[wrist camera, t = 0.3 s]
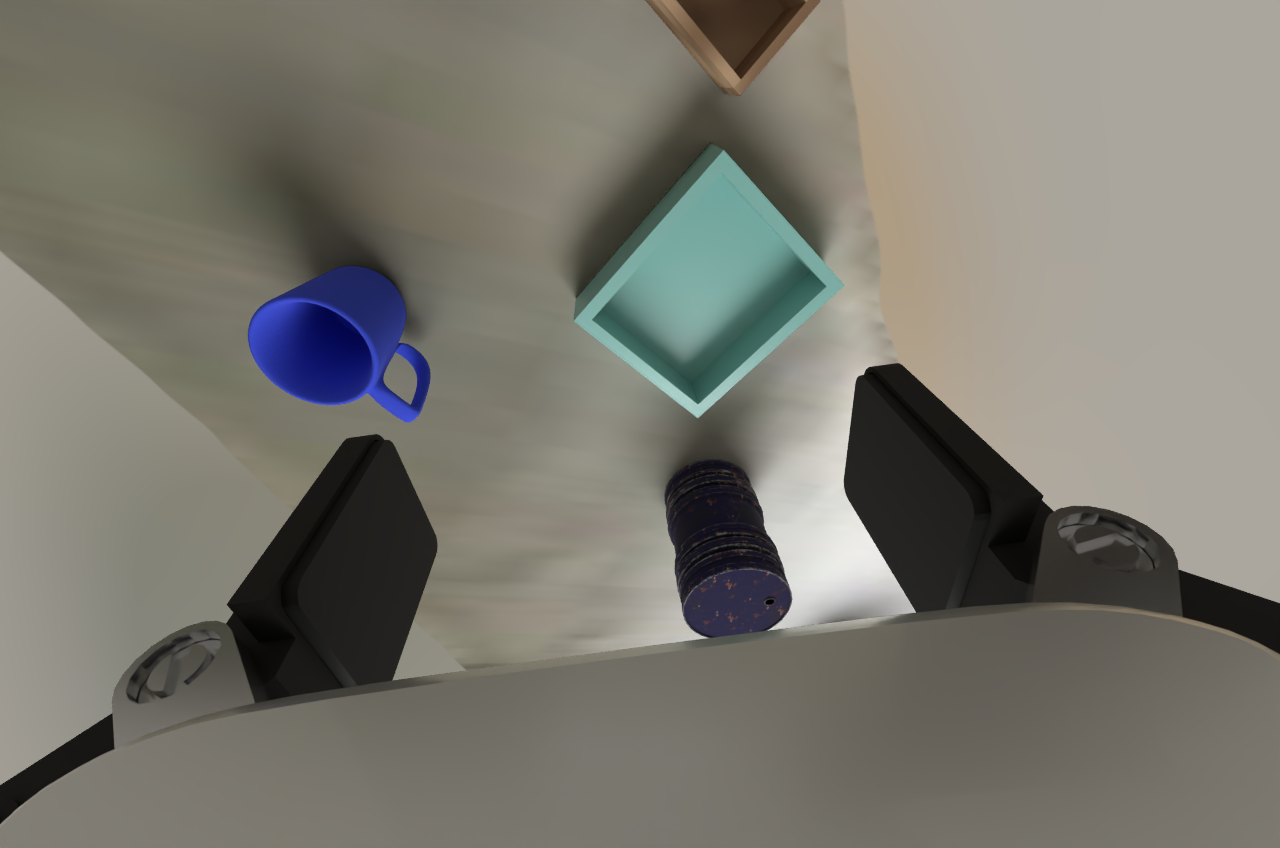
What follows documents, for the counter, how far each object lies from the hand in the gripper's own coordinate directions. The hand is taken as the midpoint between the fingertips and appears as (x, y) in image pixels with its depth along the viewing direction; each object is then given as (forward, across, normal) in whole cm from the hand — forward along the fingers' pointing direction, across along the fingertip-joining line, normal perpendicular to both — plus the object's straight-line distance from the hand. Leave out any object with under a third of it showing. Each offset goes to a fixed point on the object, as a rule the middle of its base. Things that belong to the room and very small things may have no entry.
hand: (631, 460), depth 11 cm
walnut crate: (+35, -9, -10) cm, 38 cm away
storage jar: (+36, -6, +33) cm, 49 cm away
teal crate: (+35, -6, +9) cm, 37 cm away
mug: (+36, +20, +8) cm, 42 cm away
